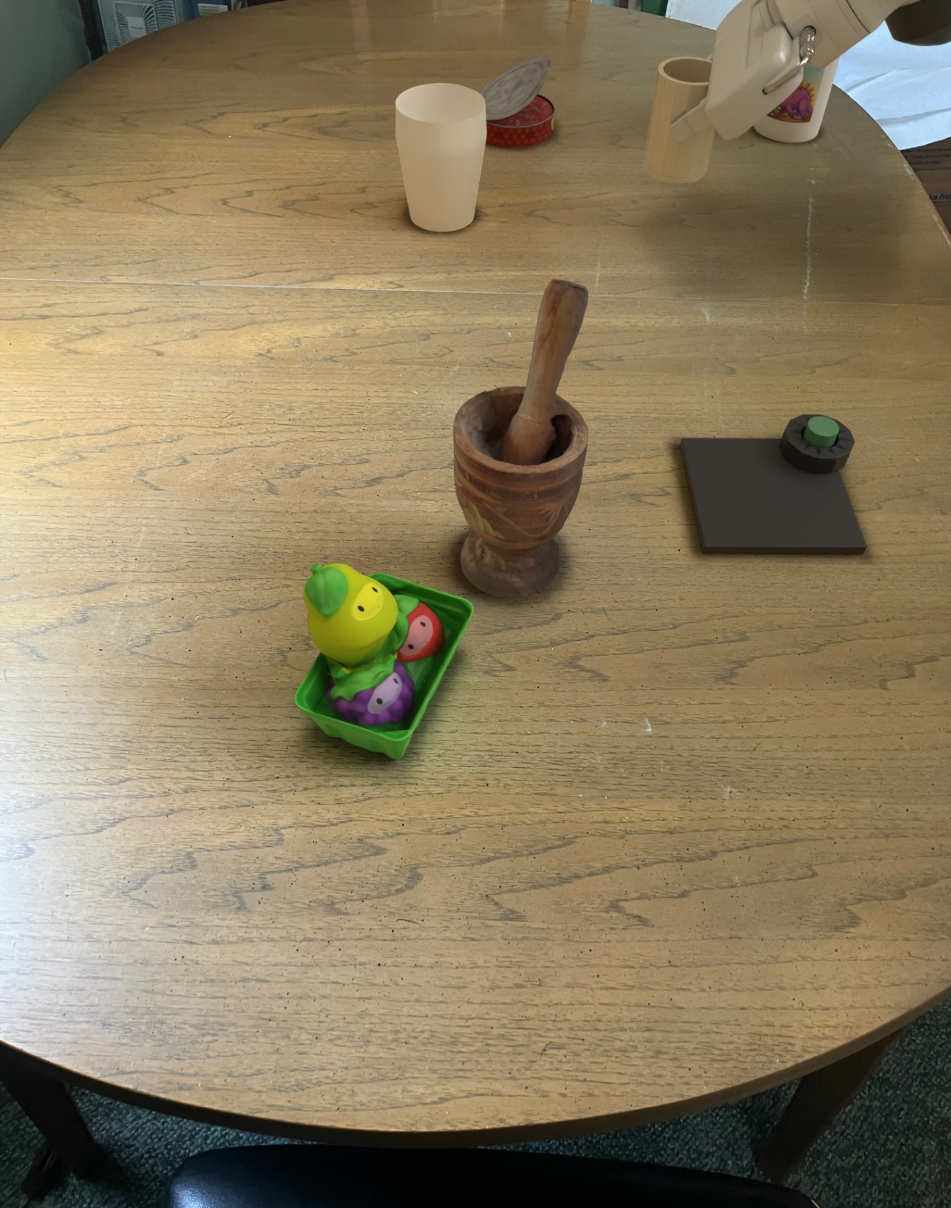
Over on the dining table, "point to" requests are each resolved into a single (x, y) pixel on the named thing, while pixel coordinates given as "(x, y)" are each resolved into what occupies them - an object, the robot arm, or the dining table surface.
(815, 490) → the scale
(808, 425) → the button
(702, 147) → the tan hollow cylinder
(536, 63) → the canned food
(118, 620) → the dining table surface
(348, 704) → the fruit basket
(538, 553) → the mortar and pestle
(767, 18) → the robot arm
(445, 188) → the cup
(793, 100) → the milk bottle
